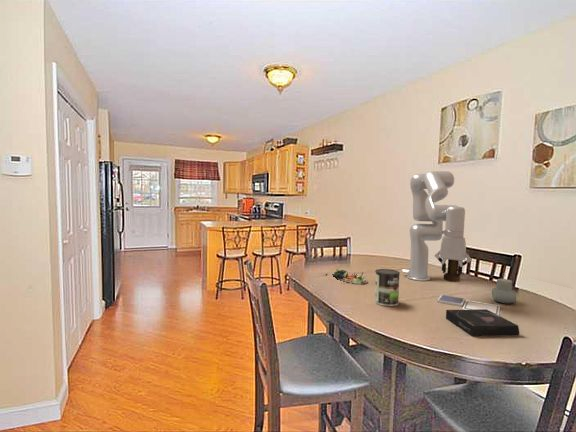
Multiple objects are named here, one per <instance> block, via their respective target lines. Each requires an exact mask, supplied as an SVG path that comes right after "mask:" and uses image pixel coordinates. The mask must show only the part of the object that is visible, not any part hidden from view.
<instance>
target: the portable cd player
mask: <svg viewBox="0 0 576 432" xmlns="http://www.w3.org/2000/svg"><path fill="white" fill-rule="evenodd" d="M445 319H446V320H447V321H449V322H450V323H451V324H453V325H454V326H456V327H457V328H459V329H461V330H462V331H463V332H465V333H466V334H468V335H469V336H470V337H510V336H511V337H514V336H519V335H520V327H519V324H517V323H514V322H512V321H511V320H508V319H506V318H504V317H502V316H500V314H499V315H497V314H495V313H493V312H491V311H489V310H487V309H475V310H462V309H446V310H445Z"/></svg>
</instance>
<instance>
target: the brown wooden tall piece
mask: <svg viewBox="0 0 576 432" xmlns="http://www.w3.org/2000/svg"><path fill="white" fill-rule="evenodd" d="M458 265H459V262H458V261H456V260H448V259H447V270H446V272H445V273H443V280H444V281H446V282H450V283H451V282H452V283H460V282H461V275H460V276H458Z"/></svg>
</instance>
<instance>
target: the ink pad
mask: <svg viewBox="0 0 576 432" xmlns="http://www.w3.org/2000/svg"><path fill="white" fill-rule="evenodd" d="M436 302H437V303H440V304H445V305H451V306H457V307H461V308H463V306H464V304H465V302H466V298H463V297H457V296H451V295H445V294H441V295H440V296H439V298H438V299H437V301H436Z"/></svg>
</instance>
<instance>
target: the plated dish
mask: <svg viewBox="0 0 576 432" xmlns="http://www.w3.org/2000/svg"><path fill="white" fill-rule="evenodd" d="M333 273H334V274H332V275H333V277H335V278H336V279H337V280H340V281H343V282H346V283H347V284H349V283H352V284H351V285H366V283H367V284H369V283H368V282H369V281H368V280H367V279H366V276H365V275H364V271H362V272H361V276H359V275H357V274H356V275H355V272H353V273H354V275H353V274H352V275H348V270H344V269H339V268H336V269H335V272H333ZM346 283H345V284H346Z"/></svg>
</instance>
